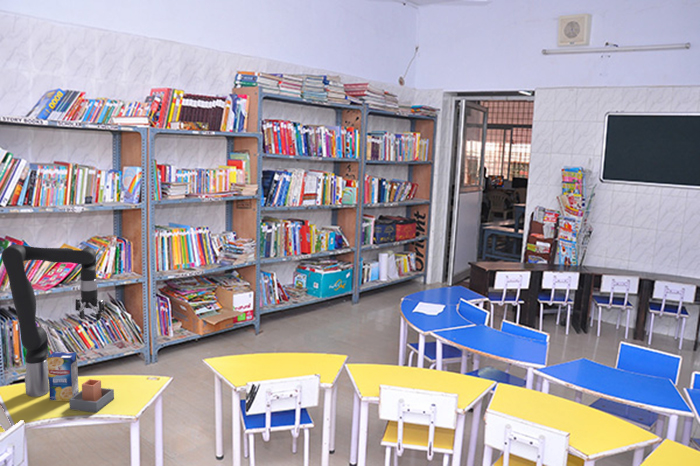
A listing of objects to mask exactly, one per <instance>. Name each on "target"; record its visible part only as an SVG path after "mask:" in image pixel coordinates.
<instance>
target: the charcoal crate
mask: <svg viewBox="0 0 700 466" xmlns="http://www.w3.org/2000/svg"><path fill="white" fill-rule="evenodd" d="M114 390H115V389H113V388H105V387H101V392H102V397H101V398H100V399H99V400H98V401H96V402H94V401H86V400H83V399H82V390H80V391H79V393H77V394H76V395H75V396H73V397H72V398H70V399H69V402H68V403H69V410H72V411H73V410H74V411H80V412H89V413H95V414H97V413H98V412H100V411H101V410H102V409H103V408H105V407H106V406H107V405H108V404H110V403H111V402H112V401H114V400H115V391H114Z"/></svg>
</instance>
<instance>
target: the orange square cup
mask: <svg viewBox="0 0 700 466" xmlns="http://www.w3.org/2000/svg"><path fill="white" fill-rule="evenodd" d="M101 388H102V380H101V379H100V380H98V379H90V378H89V379H88V380H86V381H85V382H83V383H82V384H81V391H82V399H83V400H86V401H94V402H96V401H98V400H99V399H100V398H101V397H102V392H101Z"/></svg>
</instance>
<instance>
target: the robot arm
mask: <svg viewBox="0 0 700 466" xmlns="http://www.w3.org/2000/svg"><path fill="white" fill-rule="evenodd" d="M1 260H2V263H3V265H4V268H5V271H6V274H7V277H8V282H9V287H10V288H9V289H10V292H11V293H10V294H11V296H12V302H13V305H14V309H15V313H16V316H17V320H18V325H19V334H20V342H21V344H22V346H23V348H25V349H26V354H25V356H24V357H25V358H24V359H25V371H26V372H25V373H26V375H24V384H25V385H24V387H25V395H28V396H29V397H31V398H36V397H41V396H45V395H47V394H48V393H49V378H48V362H47V357H48V352H49V351H48V350H49V342H48V340H49V339H48V333H47V331H46V329H45V328H43V327H41V326H37V322H36V315H37V314H36V313H37V300H36V299H37V298H36V294H35V290H34V288H33V285H32V283H31V282H30V280H29V278H28V276H27V275H26V270H25V264H24V263H25V262H27V261H44V262H49V263H61V264H62V263H63V264H65V263H66V264H69V263H71V264H76V265H77V264H78V265H81V268H80V275H79V276H80V297H78V298H76V299H75V311H77V312H79V318H80V320H83V319H85V310H86V309H89V310H93V311H94V312H95V321H96V322H98V321H101V319H102V315H101V313H104V312H105V303H104V302H105V301H104V300H103V299H100V300H98V294H99V293H98V281H97V270H96V269H97V268H96V266H97V253H96V250H95V249H93V248H92V247H85V248H83V249H81V250H79V249H73V248H70V247H67V248H66V247H38V246H30V245H29V246H28V245H23V244H19V243H18V244H17V243H15V244H11V245H8V246H7V247H5V248H4V249H3V250H2V252H1ZM81 303H82V304H81Z"/></svg>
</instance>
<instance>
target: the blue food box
mask: <svg viewBox="0 0 700 466" xmlns="http://www.w3.org/2000/svg"><path fill="white" fill-rule="evenodd" d="M47 367H48V383H49V392H48V393H49V401H67V402H68V401H69V399H70V398H72V397H73V396H75V395H76V394H77V393H79V392H80V391H79V377H78V376H79V372H78V355H77V352H75V351H73V352H72V351H53V352H52V353H51V354H49V355H47Z"/></svg>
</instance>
